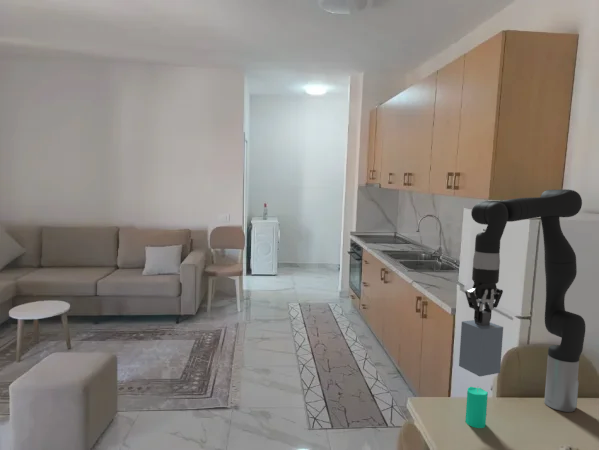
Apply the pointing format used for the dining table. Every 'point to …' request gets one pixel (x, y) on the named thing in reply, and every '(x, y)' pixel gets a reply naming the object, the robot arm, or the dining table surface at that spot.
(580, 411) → the dining table surface
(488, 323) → the cover
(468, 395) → the candle
